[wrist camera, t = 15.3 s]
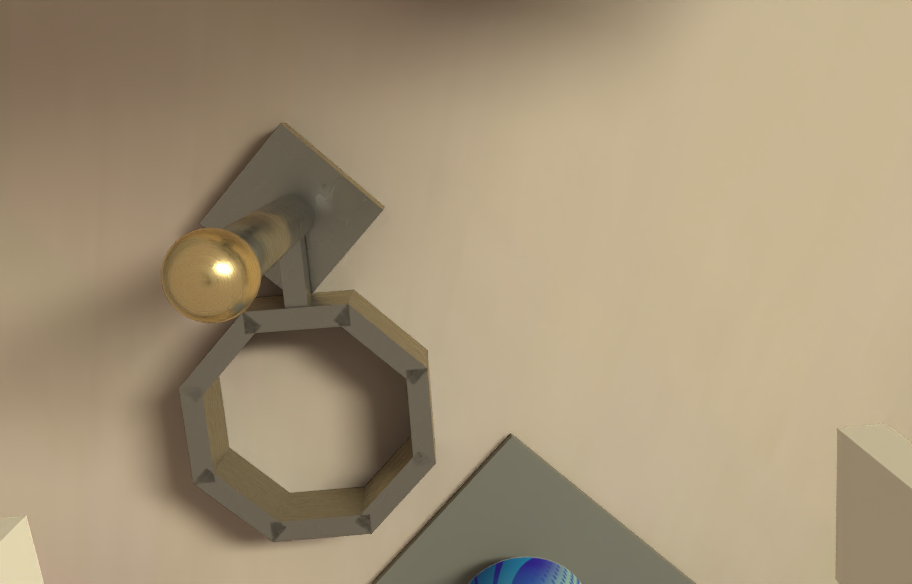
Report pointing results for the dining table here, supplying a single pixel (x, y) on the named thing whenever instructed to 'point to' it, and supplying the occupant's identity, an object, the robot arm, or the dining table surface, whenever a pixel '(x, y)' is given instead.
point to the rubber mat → (526, 529)
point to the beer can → (525, 572)
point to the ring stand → (298, 274)
